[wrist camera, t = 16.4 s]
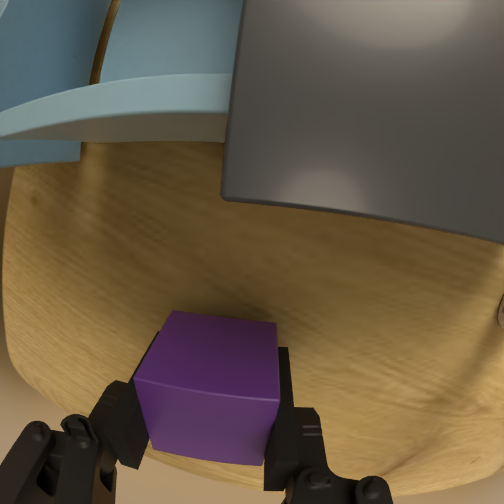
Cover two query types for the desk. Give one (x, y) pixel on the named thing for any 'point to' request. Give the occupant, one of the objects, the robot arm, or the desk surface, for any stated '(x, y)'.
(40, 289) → the desk surface
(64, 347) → the desk surface
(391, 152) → the grey square box housing
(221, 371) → the purple cube
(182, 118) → the drawer
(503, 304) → the bottle
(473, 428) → the desk surface
